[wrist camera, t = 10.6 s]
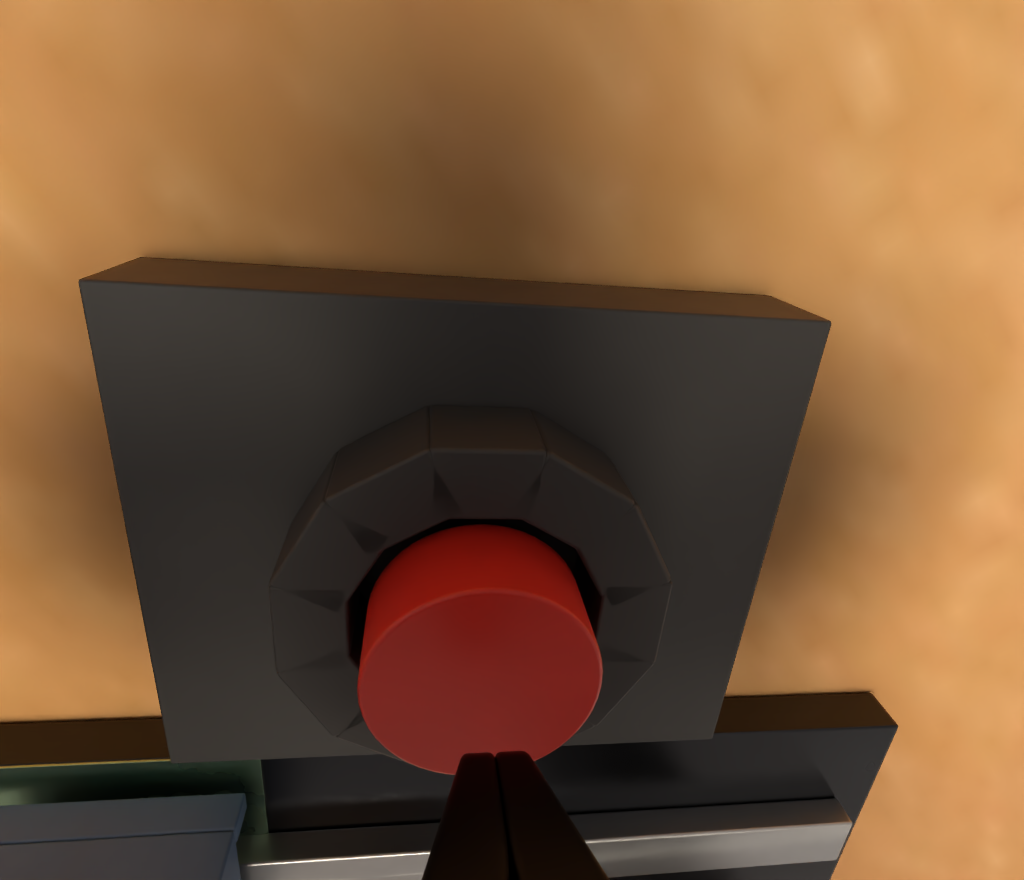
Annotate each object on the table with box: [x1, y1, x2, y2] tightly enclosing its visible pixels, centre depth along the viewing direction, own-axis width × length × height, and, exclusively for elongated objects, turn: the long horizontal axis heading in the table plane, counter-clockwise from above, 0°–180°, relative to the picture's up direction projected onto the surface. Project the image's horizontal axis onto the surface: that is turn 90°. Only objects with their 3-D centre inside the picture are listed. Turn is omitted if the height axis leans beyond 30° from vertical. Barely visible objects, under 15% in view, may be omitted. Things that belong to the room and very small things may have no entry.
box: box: [79, 257, 831, 766], centre depth 12 cm, size 10×12×4 cm
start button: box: [357, 524, 603, 775], centre depth 10 cm, size 4×4×2 cm
